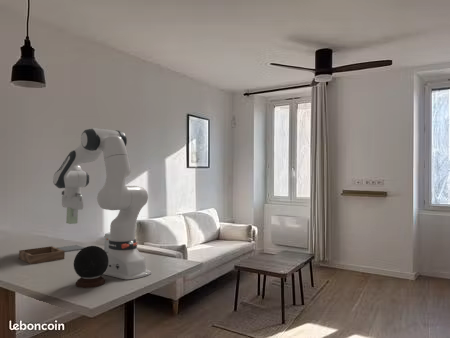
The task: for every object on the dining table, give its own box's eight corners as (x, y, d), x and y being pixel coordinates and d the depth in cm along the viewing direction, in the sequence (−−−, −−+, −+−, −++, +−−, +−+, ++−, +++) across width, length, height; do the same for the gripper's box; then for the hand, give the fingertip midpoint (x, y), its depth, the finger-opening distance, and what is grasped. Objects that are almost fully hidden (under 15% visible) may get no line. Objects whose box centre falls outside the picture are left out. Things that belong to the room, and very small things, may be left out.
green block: (77, 223, 200) (77, 207, 200) (69, 223, 196) (70, 208, 197) (73, 222, 203) (74, 207, 203) (66, 223, 199) (66, 207, 200)
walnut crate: (64, 258, 176) (64, 250, 176) (30, 264, 164) (31, 255, 164) (51, 253, 186) (51, 246, 186) (19, 258, 174) (19, 250, 174)
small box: (121, 250, 198) (122, 232, 198) (117, 252, 192) (118, 234, 192) (108, 250, 198) (108, 232, 199) (103, 252, 193) (104, 233, 193)
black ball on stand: (111, 278, 144) (113, 243, 144) (102, 288, 131) (103, 249, 131) (80, 278, 143) (81, 242, 144) (67, 288, 130) (68, 249, 131)
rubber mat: (85, 248, 200) (85, 247, 200) (65, 251, 191) (65, 250, 191) (76, 245, 208) (76, 244, 208) (56, 248, 199) (56, 247, 199)
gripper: (86, 193, 196) (85, 217, 195) (70, 191, 209) (69, 214, 209) (75, 193, 191) (75, 218, 191) (60, 191, 204) (59, 214, 204)
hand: (72, 216), depth 200 cm, fingers closed on green block, 4 cm apart
